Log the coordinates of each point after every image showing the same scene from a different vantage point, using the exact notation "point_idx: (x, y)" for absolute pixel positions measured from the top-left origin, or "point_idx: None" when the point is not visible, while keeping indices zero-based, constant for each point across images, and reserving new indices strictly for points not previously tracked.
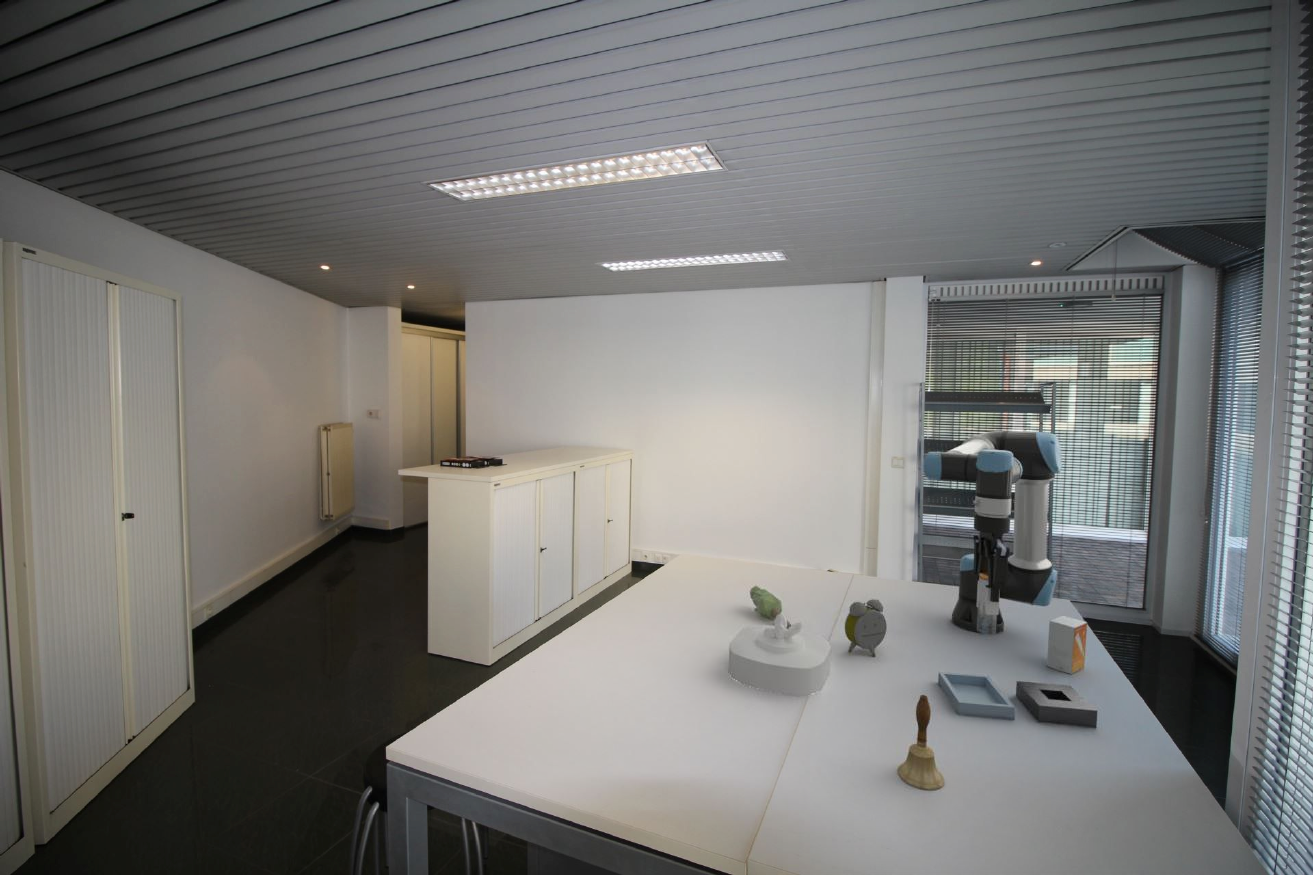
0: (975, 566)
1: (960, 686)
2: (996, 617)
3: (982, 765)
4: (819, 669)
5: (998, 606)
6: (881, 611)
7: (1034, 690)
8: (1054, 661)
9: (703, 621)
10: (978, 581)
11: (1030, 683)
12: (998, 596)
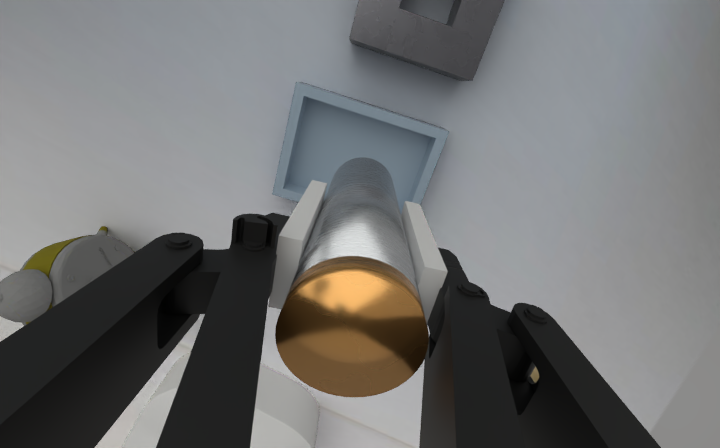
0: (159, 358)
1: (305, 155)
2: (386, 182)
3: (545, 278)
4: (302, 425)
5: (425, 221)
6: (50, 283)
7: (404, 28)
8: None
9: None
10: (280, 306)
11: (366, 5)
12: (460, 270)
